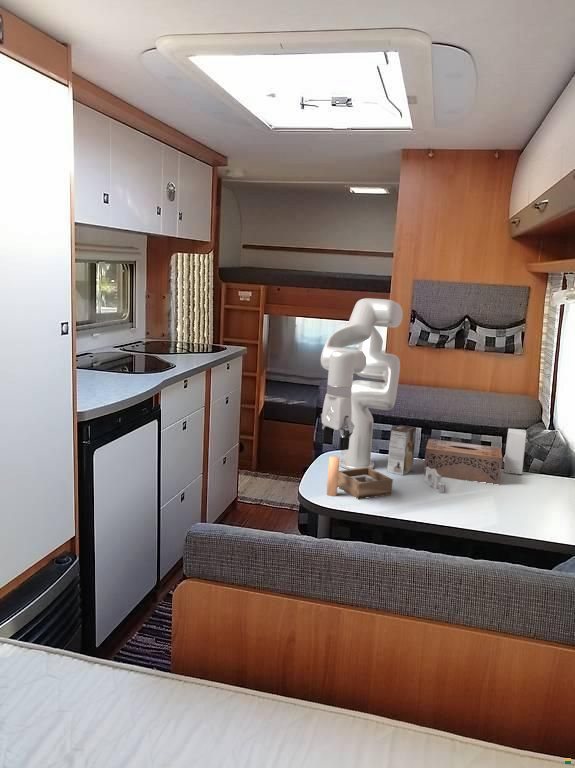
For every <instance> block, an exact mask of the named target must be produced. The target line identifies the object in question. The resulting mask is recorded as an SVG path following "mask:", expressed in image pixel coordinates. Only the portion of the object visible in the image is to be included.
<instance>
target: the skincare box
mask: <svg viewBox="0 0 575 768" xmlns="http://www.w3.org/2000/svg"><path fill="white" fill-rule="evenodd" d="M526 441H527V430H526V429H520V428H518V429H517V428H508V429H507V436H506V445H505V454H504V466H503V467H504V468H503V471H504V473H505V472H506V474H510V473H516V474H515V475H517V474H522V475H523V471H524V470H523V468H524V458H525V452H526V450H525V449H526Z"/></svg>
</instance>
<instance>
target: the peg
mask: <svg viewBox="0 0 575 768" xmlns="http://www.w3.org/2000/svg"><path fill="white" fill-rule="evenodd" d="M328 457H329V458H328V459H329V460H328V469H327V471H328V472H327V482H326V483H327V484H326V496H329V497H336V496H338V487H337V486H338V473H339V471H340V464H339V462H340V460H341V458H340V457H339V456H334V455H330V456H328Z"/></svg>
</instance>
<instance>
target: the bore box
mask: <svg viewBox="0 0 575 768" xmlns="http://www.w3.org/2000/svg"><path fill="white" fill-rule="evenodd" d="M393 481H394V478H391V477H389V476H387V475H386V474H384V473H381V472H379V471H377V470H375V469H371V468H369V467H368V468H359V469H351V470H350V469H345V470H343V469H342V470H339V473H338V486H337V488H338V487H339V488H338V489H340V490H342V491H343V490H344V492H345V491H346V492H345V493H346V494H348V493H349V494H348V495H350V494H351V495H350V496H352V497H353V496H354V498H355V497H356V498H355V499H357V498H358V499H357V500H361V499H360V498H363V499H367V498H366V497H370V498H376V497H375V496H377V497H382V495H384V496H388V495H389V496H390V494H391V495H392V493H393V483H394V482H393Z"/></svg>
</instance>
